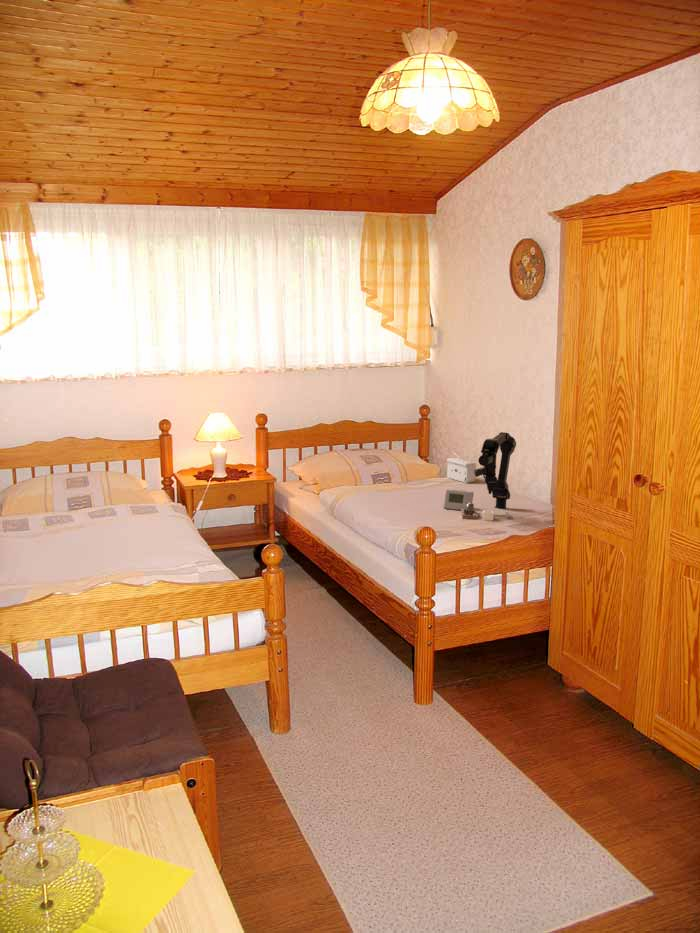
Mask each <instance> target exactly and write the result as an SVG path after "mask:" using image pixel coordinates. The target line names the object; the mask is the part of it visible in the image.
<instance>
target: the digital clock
mask: <svg viewBox="0 0 700 933" xmlns="http://www.w3.org/2000/svg"><path fill="white" fill-rule="evenodd" d="M443 498H444V499H443V506H442V508H443V509H446V510H447V509H448V510H453V511H459V512H460V511H461V512H462V509H467V503H473V500H474V499H473V498H474V491H471V490H462V489H452V488H446V489H445V491H444V497H443Z"/></svg>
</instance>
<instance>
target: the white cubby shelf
mask: <svg viewBox="0 0 700 933" xmlns="http://www.w3.org/2000/svg"><path fill="white" fill-rule="evenodd" d="M493 514H494V511H493V510H488V509H487V510H482V521H493V520H494V519H493Z"/></svg>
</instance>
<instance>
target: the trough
mask: <svg viewBox="0 0 700 933" xmlns="http://www.w3.org/2000/svg"><path fill="white" fill-rule="evenodd" d="M466 513H467V509H461V519H462V521H463V520H479V513H478V509H474V510H473V515H466Z"/></svg>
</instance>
